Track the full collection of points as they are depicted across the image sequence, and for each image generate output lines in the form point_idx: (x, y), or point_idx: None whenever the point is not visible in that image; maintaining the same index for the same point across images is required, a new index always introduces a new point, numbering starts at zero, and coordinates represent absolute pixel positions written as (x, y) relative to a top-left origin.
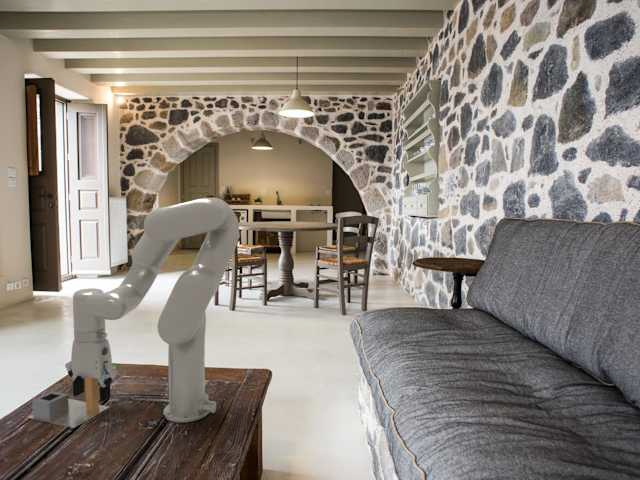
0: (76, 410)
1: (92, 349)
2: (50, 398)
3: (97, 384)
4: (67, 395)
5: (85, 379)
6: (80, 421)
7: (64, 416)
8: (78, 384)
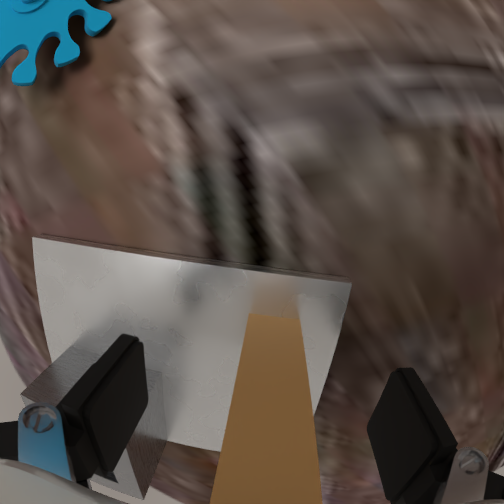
0: (185, 356)
1: None
2: None
3: (313, 455)
4: None
5: None
6: None
7: (180, 406)
8: (113, 436)
